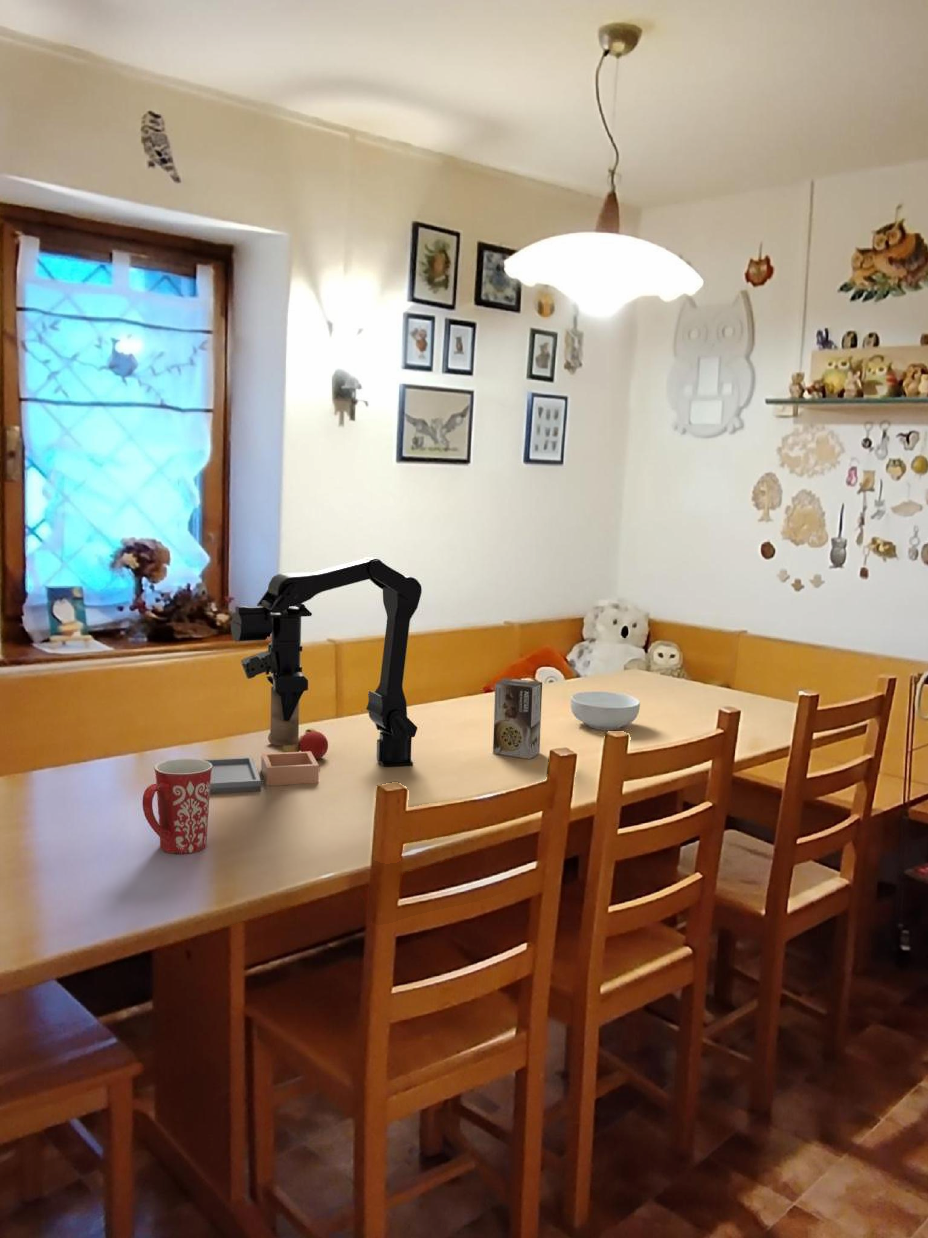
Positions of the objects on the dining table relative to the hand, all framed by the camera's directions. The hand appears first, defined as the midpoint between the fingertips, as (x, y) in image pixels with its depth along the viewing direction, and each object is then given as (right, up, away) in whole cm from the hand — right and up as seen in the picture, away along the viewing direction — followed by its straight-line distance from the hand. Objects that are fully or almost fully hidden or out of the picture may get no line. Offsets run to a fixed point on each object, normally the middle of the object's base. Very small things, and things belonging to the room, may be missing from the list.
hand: (284, 717), depth 204 cm
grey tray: (-11, -12, -1) cm, 16 cm away
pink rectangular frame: (+1, -12, +2) cm, 12 cm away
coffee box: (+47, -11, +25) cm, 54 cm away
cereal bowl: (+70, -7, +52) cm, 87 cm away
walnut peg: (0, -5, +1) cm, 5 cm away
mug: (-11, -18, -38) cm, 43 cm away
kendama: (-1, -10, +19) cm, 22 cm away
